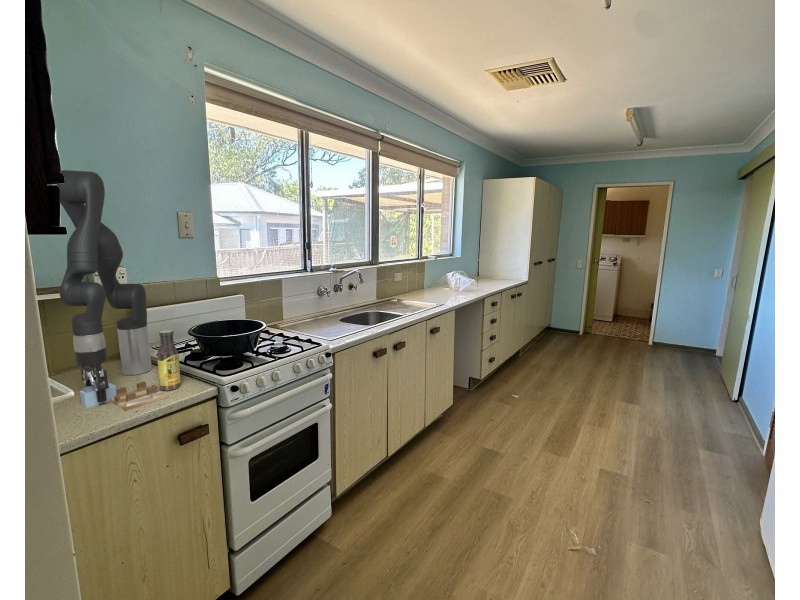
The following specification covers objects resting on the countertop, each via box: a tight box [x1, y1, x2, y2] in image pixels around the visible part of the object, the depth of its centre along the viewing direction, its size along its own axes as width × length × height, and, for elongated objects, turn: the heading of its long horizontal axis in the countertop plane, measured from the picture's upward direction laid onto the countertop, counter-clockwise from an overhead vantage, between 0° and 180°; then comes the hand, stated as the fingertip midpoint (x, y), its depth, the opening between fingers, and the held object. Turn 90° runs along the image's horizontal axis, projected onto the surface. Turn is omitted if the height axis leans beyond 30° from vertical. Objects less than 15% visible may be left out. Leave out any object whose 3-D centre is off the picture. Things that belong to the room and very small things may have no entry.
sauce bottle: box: [156, 329, 181, 392], centre depth 130 cm, size 7×6×20 cm
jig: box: [109, 381, 167, 412], centre depth 123 cm, size 11×12×4 cm
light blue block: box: [79, 382, 117, 409], centre depth 121 cm, size 4×8×6 cm, turn 145°
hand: (96, 397), depth 120 cm, fingers open, 8 cm apart
